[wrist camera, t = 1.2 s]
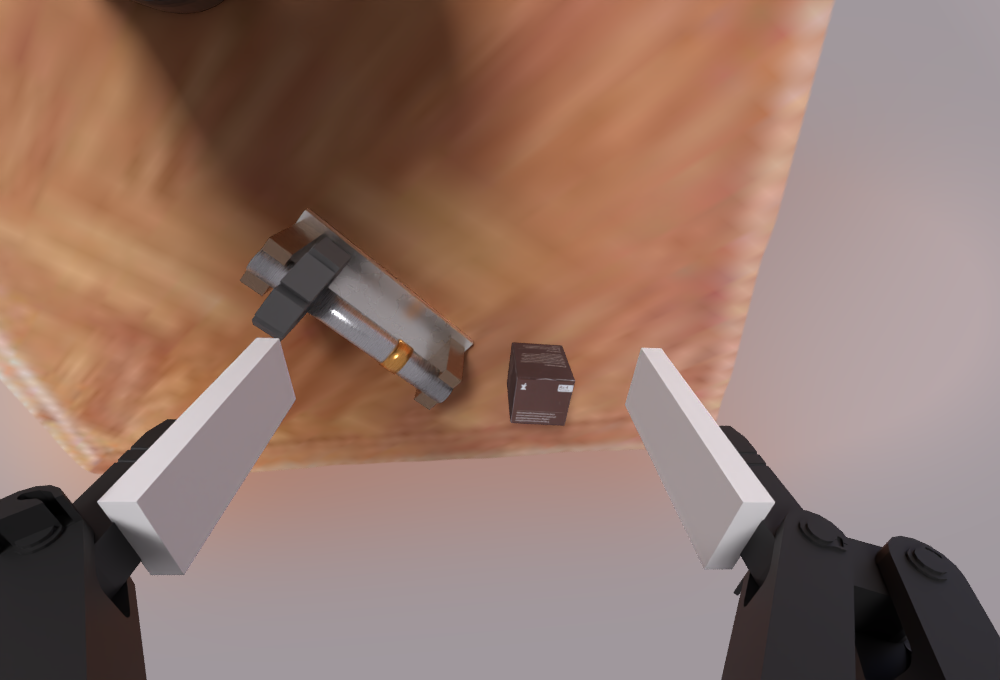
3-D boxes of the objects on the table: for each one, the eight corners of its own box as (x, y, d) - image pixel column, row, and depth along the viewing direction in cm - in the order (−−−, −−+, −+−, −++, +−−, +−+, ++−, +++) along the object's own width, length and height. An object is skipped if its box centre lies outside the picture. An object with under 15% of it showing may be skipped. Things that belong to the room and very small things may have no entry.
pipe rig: (271, 260, 39) (224, 290, 32) (308, 207, 37) (266, 228, 30) (433, 377, 47) (424, 422, 40) (473, 340, 44) (470, 381, 37)
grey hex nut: (287, 295, 39) (235, 340, 31) (338, 228, 36) (295, 259, 28) (309, 310, 40) (264, 358, 32) (361, 246, 37) (326, 281, 29)
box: (505, 383, 48) (508, 423, 41) (511, 340, 45) (515, 377, 38) (554, 386, 48) (565, 427, 42) (563, 344, 45) (576, 381, 39)
